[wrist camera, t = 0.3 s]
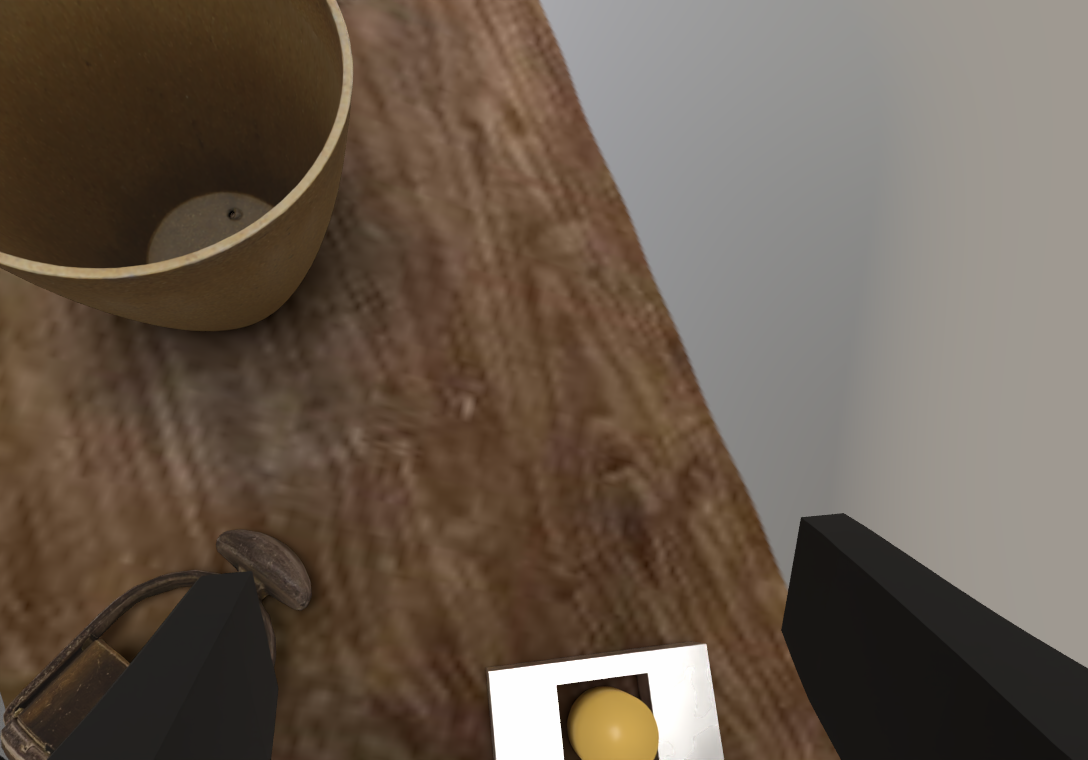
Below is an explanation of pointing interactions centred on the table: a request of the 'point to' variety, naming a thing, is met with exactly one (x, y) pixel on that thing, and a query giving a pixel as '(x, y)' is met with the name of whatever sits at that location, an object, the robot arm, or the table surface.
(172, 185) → the plant pot
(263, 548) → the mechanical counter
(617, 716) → the amber button
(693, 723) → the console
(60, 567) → the table surface
